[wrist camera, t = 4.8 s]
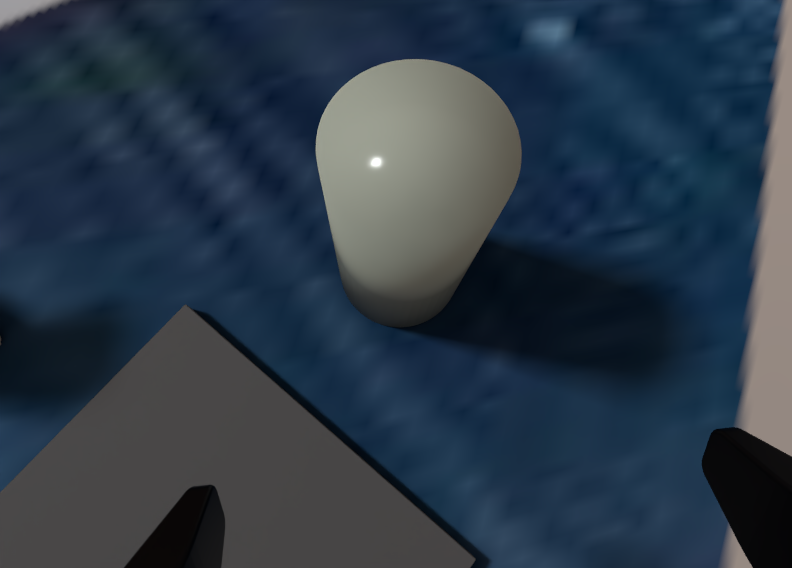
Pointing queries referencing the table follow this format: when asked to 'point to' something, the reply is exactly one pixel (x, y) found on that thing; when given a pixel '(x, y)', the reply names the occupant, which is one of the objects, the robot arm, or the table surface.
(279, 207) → the table surface
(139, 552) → the robot arm
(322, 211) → the table surface
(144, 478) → the mat
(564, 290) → the table surface
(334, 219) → the light bulb
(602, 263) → the table surface
